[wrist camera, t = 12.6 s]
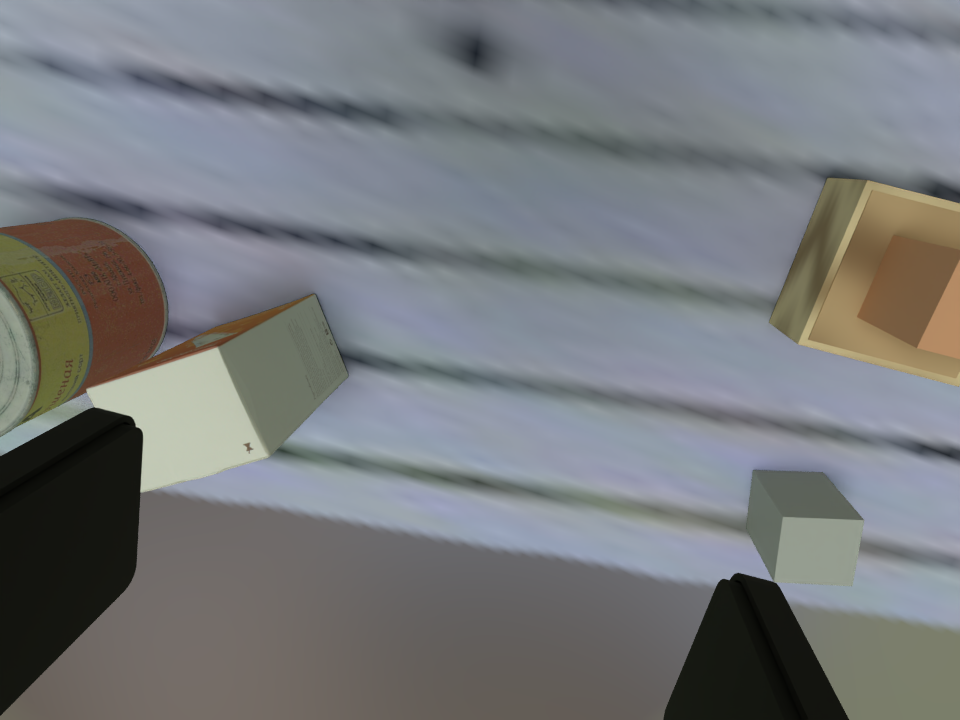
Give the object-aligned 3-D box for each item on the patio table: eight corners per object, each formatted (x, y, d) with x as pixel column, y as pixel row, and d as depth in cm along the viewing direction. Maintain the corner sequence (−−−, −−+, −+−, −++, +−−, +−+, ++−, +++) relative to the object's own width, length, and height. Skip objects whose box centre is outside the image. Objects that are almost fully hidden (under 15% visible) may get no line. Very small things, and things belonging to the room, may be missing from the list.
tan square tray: (827, 177, 37) (868, 180, 32) (980, 216, 37) (1044, 225, 32) (768, 322, 40) (798, 344, 35) (910, 359, 40) (959, 387, 35)
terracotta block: (893, 235, 33) (964, 250, 27) (979, 257, 33) (1068, 277, 27) (856, 317, 34) (916, 348, 29) (939, 338, 34) (1016, 373, 28)
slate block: (752, 469, 43) (783, 516, 37) (822, 472, 43) (864, 520, 37) (745, 528, 44) (773, 582, 39) (813, 530, 44) (852, 586, 38)
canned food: (24, 361, 47) (-146, 426, 35) (9, 206, 43) (-186, 222, 32) (170, 386, 46) (44, 460, 35) (166, 230, 43) (25, 255, 31)
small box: (316, 291, 43) (219, 344, 30) (351, 376, 44) (272, 460, 32) (212, 325, 44) (80, 389, 32) (250, 407, 46) (137, 497, 33)
